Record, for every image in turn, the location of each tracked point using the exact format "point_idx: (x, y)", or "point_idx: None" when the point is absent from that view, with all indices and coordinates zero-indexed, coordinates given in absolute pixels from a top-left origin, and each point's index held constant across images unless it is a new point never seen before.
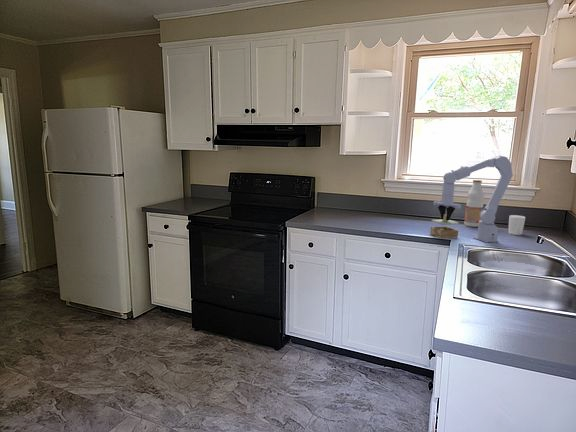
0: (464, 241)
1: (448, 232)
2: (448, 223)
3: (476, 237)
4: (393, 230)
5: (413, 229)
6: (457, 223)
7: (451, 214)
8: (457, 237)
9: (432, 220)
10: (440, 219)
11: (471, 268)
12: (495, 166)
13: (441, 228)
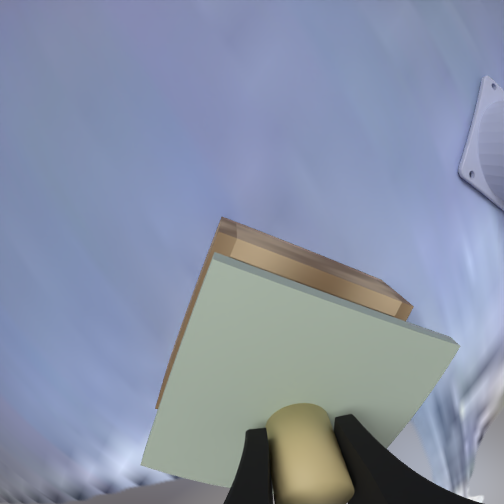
0: (448, 331)
1: None
2: None
3: (478, 170)
4: (25, 441)
5: (12, 336)
6: (443, 363)
7: (404, 468)
8: (382, 281)
9: (157, 465)
10: (174, 386)
11: (481, 500)
12: None
13: None
